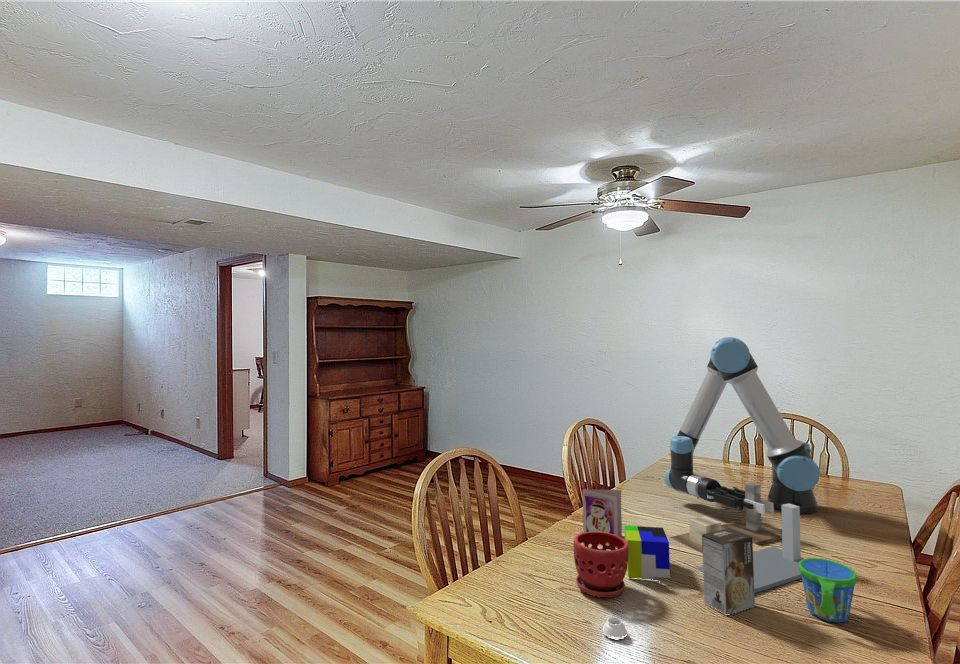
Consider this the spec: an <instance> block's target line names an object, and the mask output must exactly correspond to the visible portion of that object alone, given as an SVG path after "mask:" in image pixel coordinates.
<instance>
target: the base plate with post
mask: <svg viewBox="0 0 960 664" xmlns="http://www.w3.org/2000/svg"><path fill="white" fill-rule="evenodd" d="M781 508H782V510H781V542H782V543H781V544H782V546H781V547H782V549H781V548H779V547H776V546H771V547H767V548H763V549H759V550H756V551H753V570H754V594H757V593H760V592H763V591H767V590H769V589H772V588H775V587H778V586H781V585H784V584H788V583H790V582H793V581H796V580H800V579H802V575H801V573H800V571H799V562H800V561H801V560H803V559H805V558H804V557H802V556H801V555H802V554H801V552H802V551H801V549H802V548H801V513H800V507H799V506H796V505H793V504H789V503H788V504H784V505H781ZM695 569H696V570H699V571H700V572H702V573H703V565H702V566H698V567H696V568H695Z"/></svg>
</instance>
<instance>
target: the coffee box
mask: <svg viewBox="0 0 960 664" xmlns="http://www.w3.org/2000/svg"><path fill="white" fill-rule="evenodd" d="M753 544H754V543H752V536H749V535H746V534H744V533H741V532H739V531H736V530H733V529H730V528H727V529H723V530H719V531H715V532H711V533H706V534H702V550H703V553H702V566H703V572H702V573H703V574H702V575H703V601H704V602H705V603H707V604H708V605H710V606H712V607H713V608H716V609H717V610H719V611H721V612H722V613H724V614H732V613H735V612H738V613H740V612H739V611H741V612H743V611H742V610H744V611H747V610H749V608H750V609H752V608H753V609H754V608H756V604H755V603H756V602H755V593H754V570H753V552H754V549H753V548H754V547H753ZM704 602H703V603H704ZM705 603H704V604H705ZM708 605H707V606H708ZM713 608H712V609H713ZM746 609H747V610H746ZM735 614H736V613H735ZM732 615H733V614H732Z"/></svg>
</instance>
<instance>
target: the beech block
mask: <svg viewBox="0 0 960 664" xmlns="http://www.w3.org/2000/svg"><path fill="white" fill-rule="evenodd" d="M688 521H689V522H688V523H689V524H688V525H689V526H688V527H689V533H690V540H692V541H694V542H696V543H698V544H700V545H702V534H706V533H711V532H715V531H719V530H721V525H722V522H720V521H718V520H715V519H713V518H711V517H708V516H705V515H704V516H703V515H702V516H699V517H693V518H690V519H689V520H688Z"/></svg>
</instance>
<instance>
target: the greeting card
mask: <svg viewBox="0 0 960 664" xmlns="http://www.w3.org/2000/svg"><path fill="white" fill-rule="evenodd" d="M582 519H583V520H582V521H583V523H582V524H583V525H582V528H583V532H582V533H584V532H605V533H610V534H614V535H617V536H619V537H623V528H622V527H623V526H622V522H623V521H622V490H621V489H584V488H583V489H582Z"/></svg>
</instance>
